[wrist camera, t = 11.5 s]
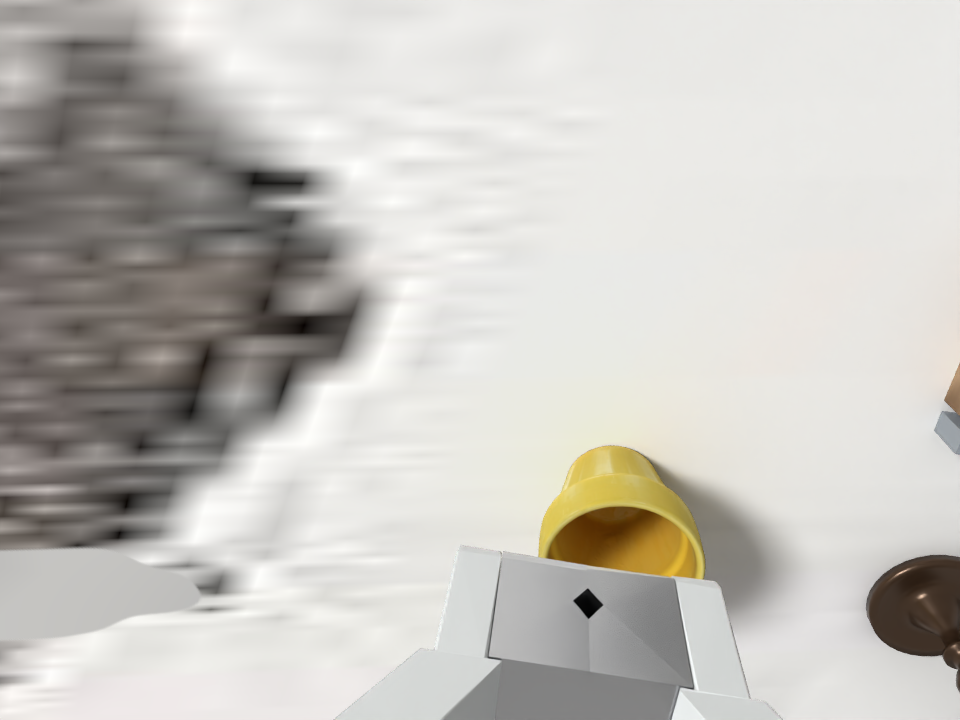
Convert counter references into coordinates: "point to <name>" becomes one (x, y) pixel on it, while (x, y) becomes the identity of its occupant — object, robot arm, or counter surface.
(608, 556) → the plant pot
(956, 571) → the candlestick
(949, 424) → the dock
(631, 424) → the counter surface
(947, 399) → the t block
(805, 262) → the counter surface
